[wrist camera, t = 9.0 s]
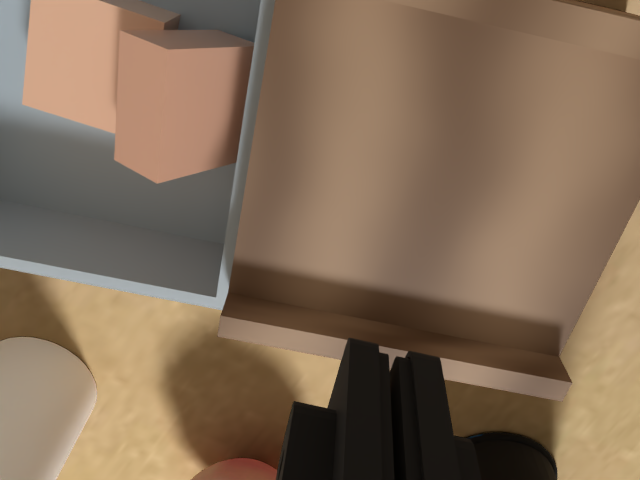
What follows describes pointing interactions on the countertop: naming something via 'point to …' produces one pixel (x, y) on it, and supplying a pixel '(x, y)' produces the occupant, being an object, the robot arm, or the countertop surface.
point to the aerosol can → (512, 458)
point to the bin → (120, 182)
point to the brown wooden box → (437, 181)
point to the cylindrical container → (40, 407)
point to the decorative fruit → (238, 470)
